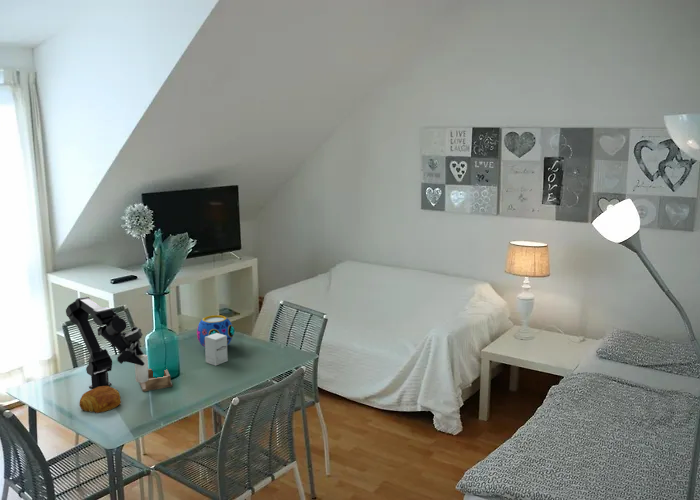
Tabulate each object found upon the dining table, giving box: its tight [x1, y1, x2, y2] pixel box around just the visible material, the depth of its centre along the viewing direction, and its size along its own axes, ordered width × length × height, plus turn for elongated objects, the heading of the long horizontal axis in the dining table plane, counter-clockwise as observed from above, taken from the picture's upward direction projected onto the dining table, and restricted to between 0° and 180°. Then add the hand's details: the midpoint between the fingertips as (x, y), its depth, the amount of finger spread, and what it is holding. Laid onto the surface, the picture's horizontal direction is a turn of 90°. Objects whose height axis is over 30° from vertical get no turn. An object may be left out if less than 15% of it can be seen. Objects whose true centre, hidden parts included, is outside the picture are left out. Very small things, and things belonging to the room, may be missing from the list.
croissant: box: [79, 385, 122, 414], centre depth 247 cm, size 14×16×8 cm
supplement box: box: [204, 333, 229, 367], centre depth 291 cm, size 7×7×13 cm
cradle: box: [138, 368, 173, 392], centre depth 268 cm, size 12×13×4 cm
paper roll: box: [134, 354, 149, 384], centre depth 257 cm, size 5×5×10 cm
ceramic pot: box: [196, 314, 235, 348], centre depth 309 cm, size 18×18×15 cm
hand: (144, 362), depth 257 cm, fingers closed on paper roll, 5 cm apart
